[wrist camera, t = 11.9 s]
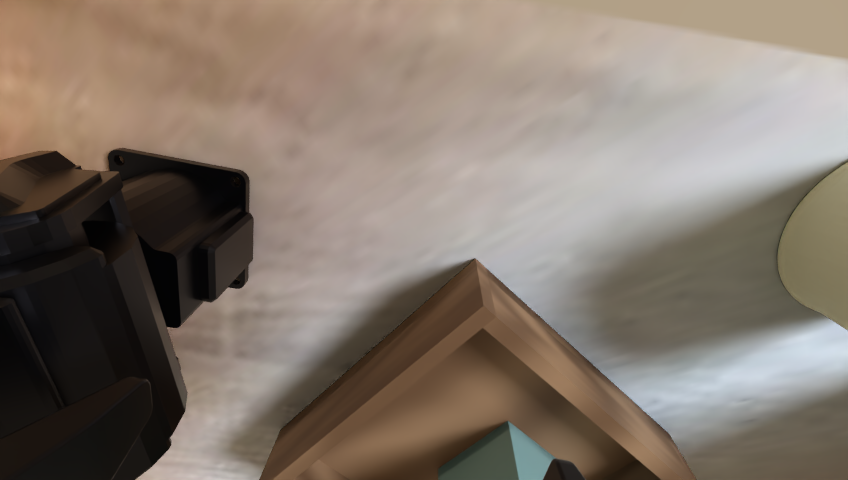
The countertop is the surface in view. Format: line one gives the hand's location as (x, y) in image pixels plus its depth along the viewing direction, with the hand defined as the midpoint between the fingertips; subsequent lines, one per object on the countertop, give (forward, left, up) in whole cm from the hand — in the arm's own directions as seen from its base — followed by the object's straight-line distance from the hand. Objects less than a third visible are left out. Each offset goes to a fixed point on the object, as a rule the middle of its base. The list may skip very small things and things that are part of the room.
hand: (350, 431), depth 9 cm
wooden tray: (+7, -14, -13) cm, 20 cm away
